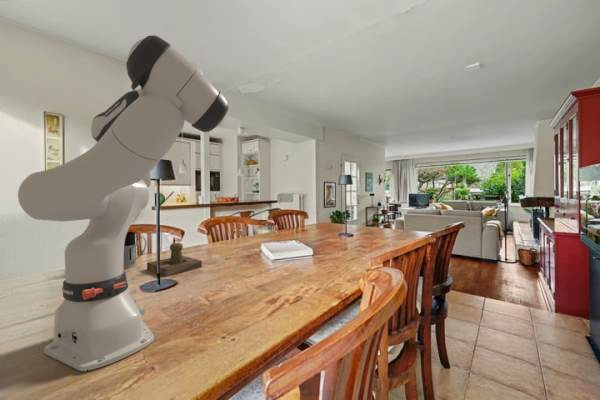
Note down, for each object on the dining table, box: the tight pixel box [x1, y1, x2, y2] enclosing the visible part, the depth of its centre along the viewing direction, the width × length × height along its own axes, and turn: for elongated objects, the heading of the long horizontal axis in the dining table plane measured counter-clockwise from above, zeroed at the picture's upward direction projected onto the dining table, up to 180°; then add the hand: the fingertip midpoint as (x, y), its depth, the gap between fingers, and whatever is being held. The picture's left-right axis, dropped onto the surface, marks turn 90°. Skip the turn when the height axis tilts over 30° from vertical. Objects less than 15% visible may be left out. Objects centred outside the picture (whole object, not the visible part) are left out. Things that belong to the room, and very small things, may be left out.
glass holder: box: [124, 231, 147, 270], centre depth 120 cm, size 9×14×15 cm, turn 84°
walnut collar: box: [146, 255, 203, 277], centre depth 118 cm, size 16×16×3 cm
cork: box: [169, 242, 183, 265], centre depth 118 cm, size 6×6×11 cm
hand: (132, 199), depth 96 cm, fingers open, 8 cm apart
